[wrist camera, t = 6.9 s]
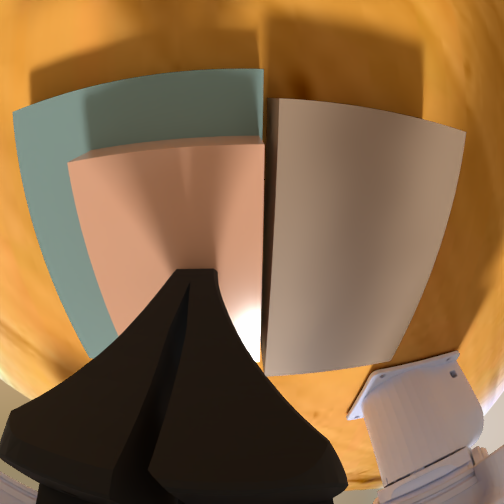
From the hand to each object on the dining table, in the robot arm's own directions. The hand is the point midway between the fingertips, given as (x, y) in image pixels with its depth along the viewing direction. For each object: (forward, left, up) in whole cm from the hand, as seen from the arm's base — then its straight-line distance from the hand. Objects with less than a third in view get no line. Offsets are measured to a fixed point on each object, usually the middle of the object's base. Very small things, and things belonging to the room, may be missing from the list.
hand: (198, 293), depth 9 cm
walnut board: (-6, 0, -4) cm, 7 cm away
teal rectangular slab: (+3, 0, -4) cm, 5 cm away
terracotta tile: (+1, 0, -2) cm, 2 cm away
